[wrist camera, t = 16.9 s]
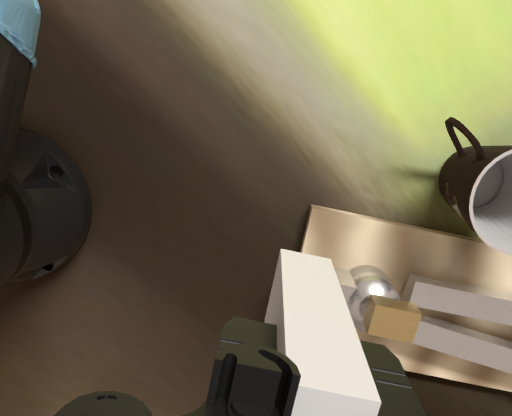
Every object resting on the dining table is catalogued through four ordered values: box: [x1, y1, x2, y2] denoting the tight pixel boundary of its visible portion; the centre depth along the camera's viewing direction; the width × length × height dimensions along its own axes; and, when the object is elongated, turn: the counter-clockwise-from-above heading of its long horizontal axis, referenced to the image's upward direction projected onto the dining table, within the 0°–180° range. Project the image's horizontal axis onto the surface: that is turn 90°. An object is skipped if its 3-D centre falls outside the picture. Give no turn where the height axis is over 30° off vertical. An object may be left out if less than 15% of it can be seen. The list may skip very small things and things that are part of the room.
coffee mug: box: [439, 117, 512, 255], centre depth 40 cm, size 12×9×10 cm
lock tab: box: [363, 294, 422, 343], centre depth 41 cm, size 4×3×2 cm
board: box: [300, 204, 512, 392], centre depth 47 cm, size 31×15×2 cm, turn 79°
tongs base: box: [334, 265, 512, 333], centre depth 44 cm, size 30×5×4 cm, turn 79°
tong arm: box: [413, 314, 512, 374], centre depth 45 cm, size 20×2×2 cm, turn 72°
